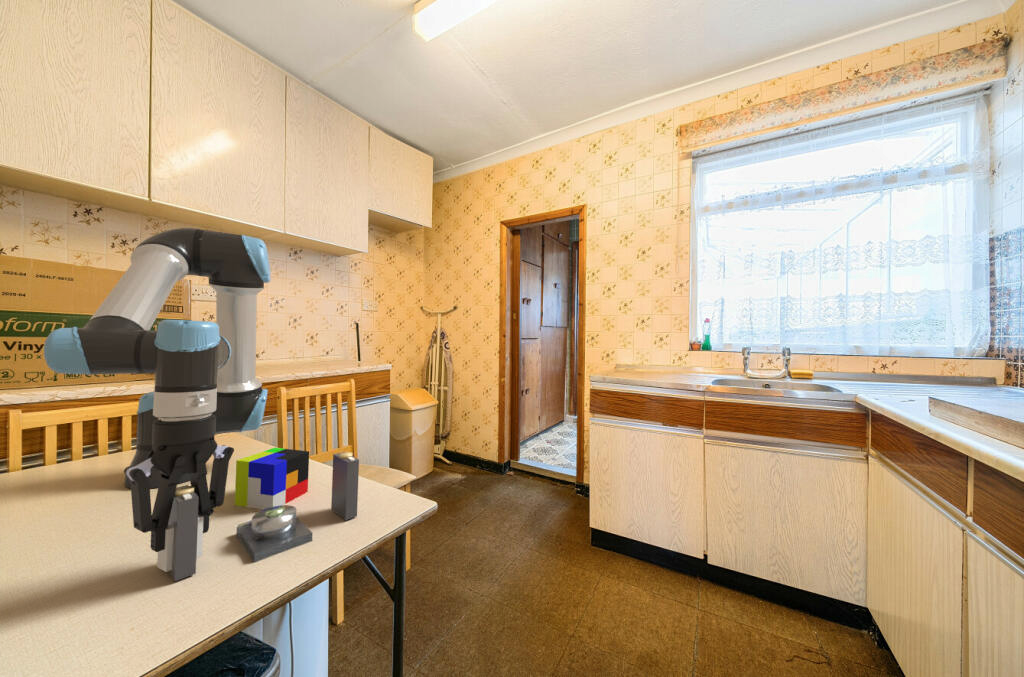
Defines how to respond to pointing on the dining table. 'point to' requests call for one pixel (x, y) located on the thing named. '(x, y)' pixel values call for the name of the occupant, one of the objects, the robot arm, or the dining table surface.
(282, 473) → the puzzle toy
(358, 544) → the dining table surface
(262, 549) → the levelling plate
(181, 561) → the dark grey flat block
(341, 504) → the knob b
